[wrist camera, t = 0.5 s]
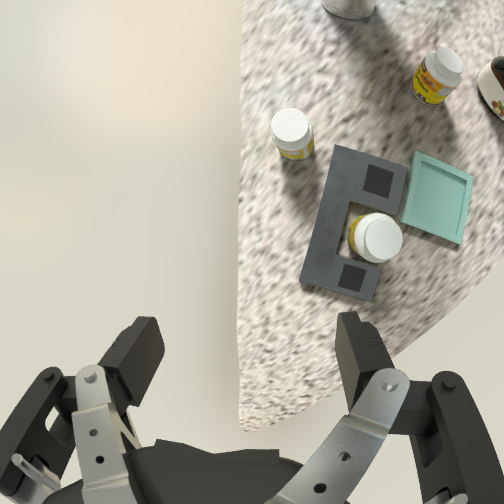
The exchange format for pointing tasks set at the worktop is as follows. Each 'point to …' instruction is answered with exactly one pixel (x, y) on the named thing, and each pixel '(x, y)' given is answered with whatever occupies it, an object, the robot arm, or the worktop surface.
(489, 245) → the worktop surface
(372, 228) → the supplement bottle
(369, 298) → the grey notched plate
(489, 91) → the spread jar
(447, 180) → the tray
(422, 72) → the supplement bottle
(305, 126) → the supplement bottle
